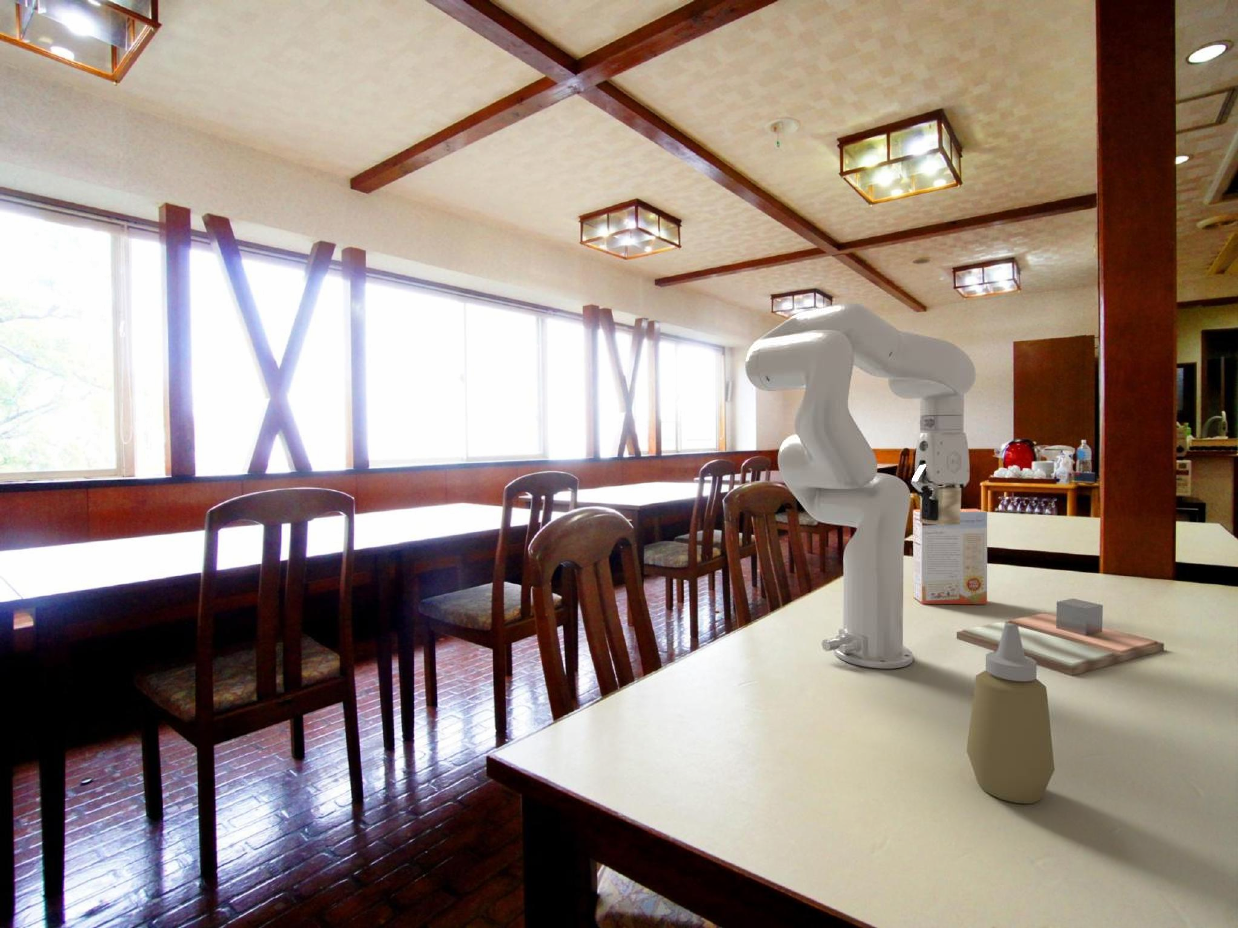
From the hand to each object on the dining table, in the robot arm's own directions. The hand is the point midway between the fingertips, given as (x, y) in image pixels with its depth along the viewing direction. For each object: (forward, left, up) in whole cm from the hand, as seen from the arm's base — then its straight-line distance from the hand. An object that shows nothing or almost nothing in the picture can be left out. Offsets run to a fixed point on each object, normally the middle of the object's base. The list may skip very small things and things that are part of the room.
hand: (940, 518), depth 121 cm
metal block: (+17, -16, -20) cm, 31 cm away
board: (+10, -16, -22) cm, 29 cm away
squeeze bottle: (-42, -42, -22) cm, 63 cm away
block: (0, 0, -1) cm, 1 cm away
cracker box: (+18, +12, -22) cm, 31 cm away
